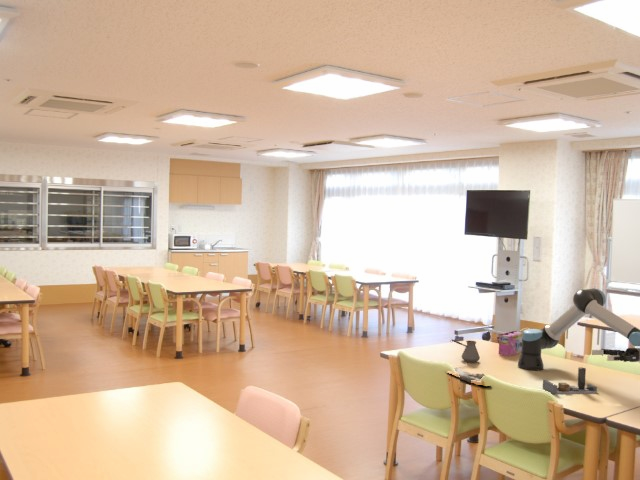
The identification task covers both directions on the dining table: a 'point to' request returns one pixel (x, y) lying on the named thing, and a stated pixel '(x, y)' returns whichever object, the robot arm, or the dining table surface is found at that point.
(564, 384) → the walnut block
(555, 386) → the anvil
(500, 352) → the gum box
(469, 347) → the coffee pot
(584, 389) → the carriage
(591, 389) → the press bed
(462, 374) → the elongated rock
